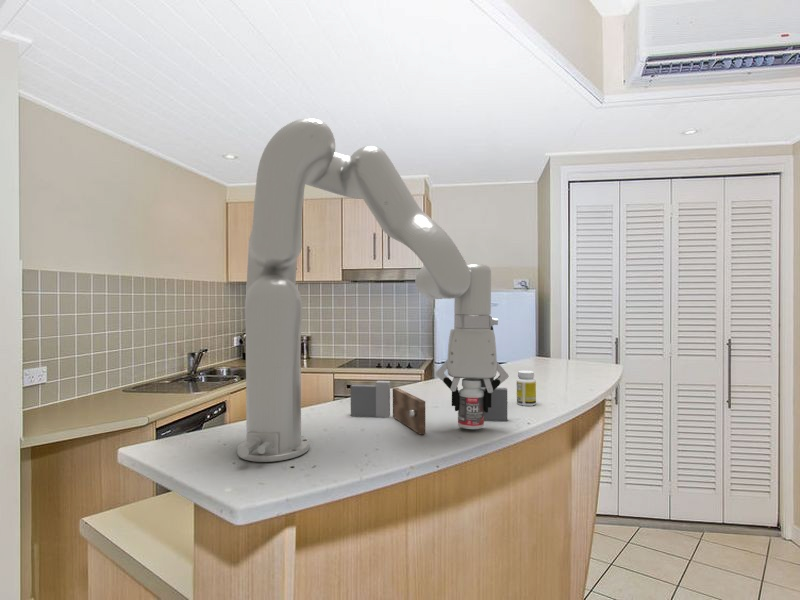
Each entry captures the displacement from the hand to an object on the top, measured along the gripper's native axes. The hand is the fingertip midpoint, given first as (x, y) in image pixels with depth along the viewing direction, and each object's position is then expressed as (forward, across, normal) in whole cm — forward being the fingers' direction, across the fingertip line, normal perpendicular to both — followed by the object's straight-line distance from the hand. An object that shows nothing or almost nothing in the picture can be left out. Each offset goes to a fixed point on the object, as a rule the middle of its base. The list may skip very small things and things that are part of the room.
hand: (471, 409), depth 95 cm
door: (+4, +14, -1) cm, 15 cm away
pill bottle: (+4, 0, 0) cm, 4 cm away
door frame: (+4, +9, -8) cm, 13 cm away
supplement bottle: (+4, -15, -24) cm, 29 cm away
